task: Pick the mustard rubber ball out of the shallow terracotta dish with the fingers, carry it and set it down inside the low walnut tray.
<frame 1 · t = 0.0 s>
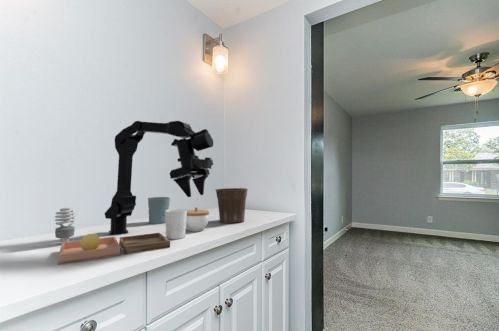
hand: (196, 195, 92), 15 cm above the worktop, tool pointing down, fingers open, 9 cm apart
tray: (144, 245, 83), on the worktop
ball: (90, 250, 75), point 1 cm above the worktop, touching dish
white cup: (175, 237, 94), on the worktop
dish: (90, 253, 75), on the worktop
plant pot: (231, 221, 126), on the worktop
lidded jar: (196, 230, 107), on the worktop
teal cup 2: (158, 222, 124), on the worktop
light bulb: (64, 244, 86), on the worktop
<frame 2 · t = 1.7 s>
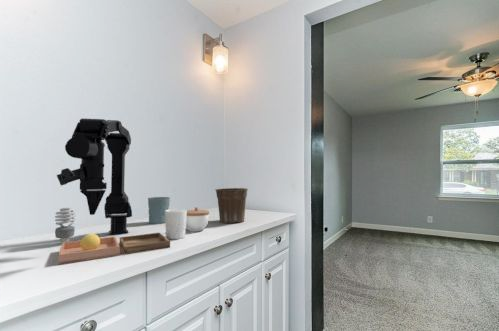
hand: (91, 212, 76), 12 cm above the worktop, tool pointing down, fingers open, 9 cm apart
nothing on the worktop moved.
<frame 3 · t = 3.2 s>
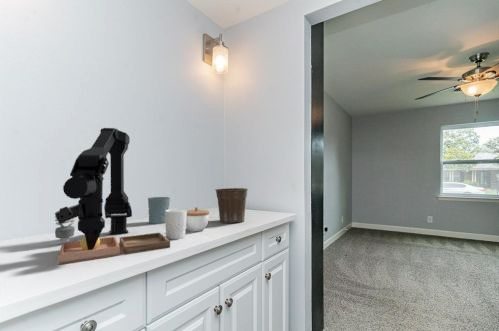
hand: (90, 248, 75), 1 cm above the worktop, tool pointing down, fingers closed on ball, 5 cm apart
ball: (90, 250, 75), point 1 cm above the worktop, touching dish, gripper
everything else where it was.
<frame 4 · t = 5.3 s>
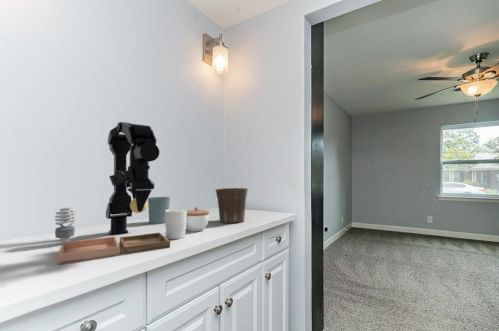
hand: (138, 210, 83), 12 cm above the worktop, tool pointing down, fingers closed on ball, 5 cm apart
ball: (138, 212, 83), point 11 cm above the worktop, touching gripper
everything else where it was.
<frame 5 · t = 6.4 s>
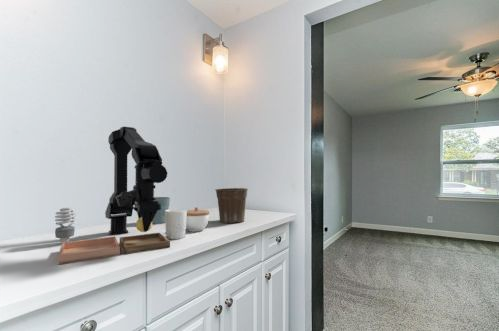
hand: (144, 229, 84), 5 cm above the worktop, tool pointing down, fingers closed on ball, 5 cm apart
ball: (144, 231, 84), point 4 cm above the worktop, touching gripper
everything else where it was.
when the fingers open (3 cm above the worktop, at t = 7.2 s): ball drops 1 cm, resting on tray.
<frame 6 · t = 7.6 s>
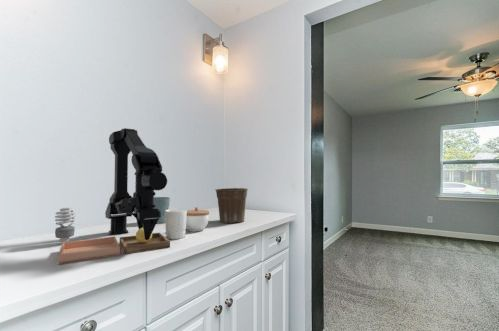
hand: (144, 236, 83), 3 cm above the worktop, tool pointing down, fingers open, 9 cm apart
ball: (144, 242, 83), point 1 cm above the worktop, touching tray
everything else where it was.
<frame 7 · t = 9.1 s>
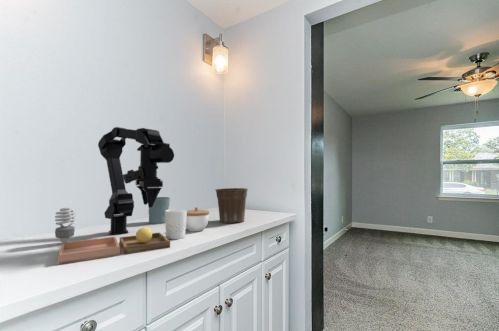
hand: (147, 205, 93), 12 cm above the worktop, tool pointing down, fingers open, 9 cm apart
nothing on the worktop moved.
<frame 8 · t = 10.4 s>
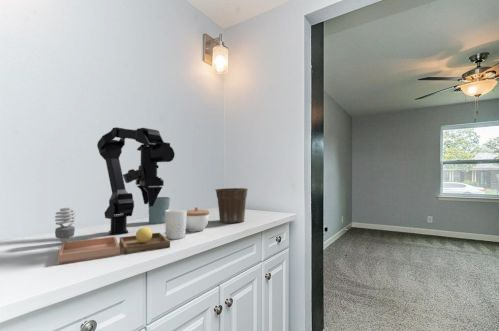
hand: (148, 205, 93), 12 cm above the worktop, tool pointing down, fingers open, 9 cm apart
nothing on the worktop moved.
at the end: ball inside the target area on the tray (0.0 cm from its centre), point 0.8 cm above the tray's base; the gripper is holding nothing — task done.
